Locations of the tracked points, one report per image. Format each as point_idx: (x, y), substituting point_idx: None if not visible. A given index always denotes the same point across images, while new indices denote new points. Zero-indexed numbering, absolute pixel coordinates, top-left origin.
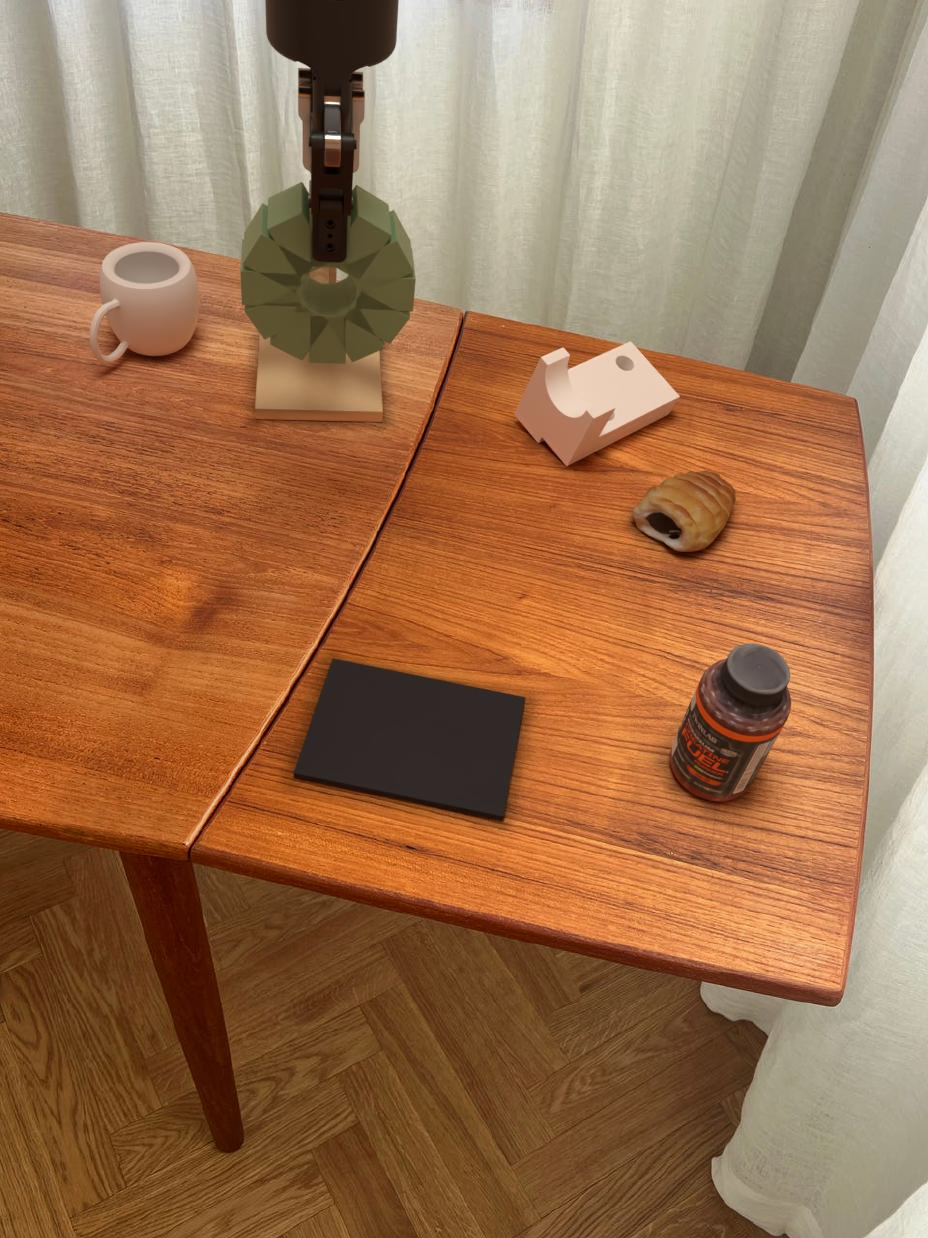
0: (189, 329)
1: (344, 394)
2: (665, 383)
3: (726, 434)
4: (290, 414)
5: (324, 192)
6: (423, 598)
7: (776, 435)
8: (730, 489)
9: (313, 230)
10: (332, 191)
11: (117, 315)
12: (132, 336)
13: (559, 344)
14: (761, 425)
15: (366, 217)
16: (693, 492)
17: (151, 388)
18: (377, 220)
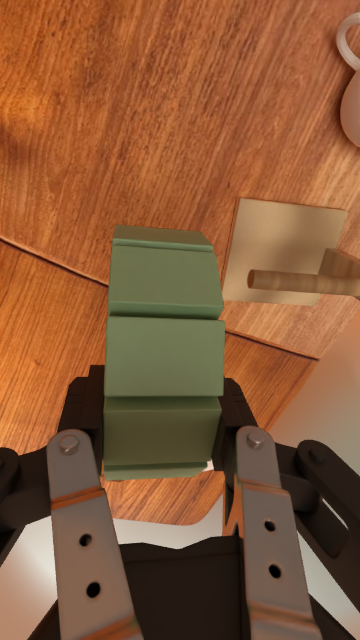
0: (353, 141)
1: (245, 274)
2: (210, 468)
3: (180, 477)
4: (232, 228)
5: (14, 501)
6: (30, 304)
7: (177, 497)
8: (116, 481)
9: (85, 396)
10: (40, 504)
11: None
12: (357, 73)
13: (279, 412)
14: (186, 492)
15: (110, 474)
16: (102, 470)
17: (297, 96)
18: (124, 476)
